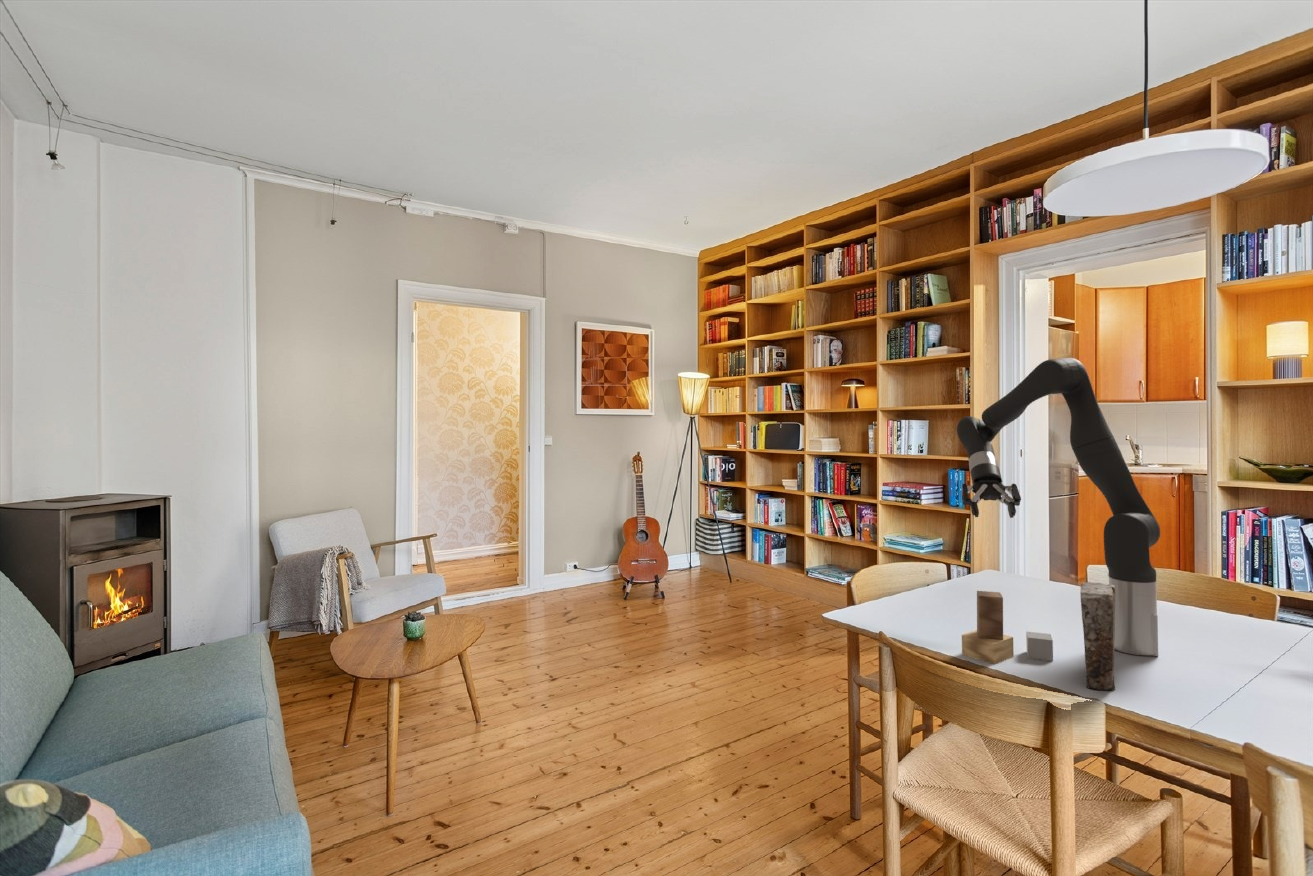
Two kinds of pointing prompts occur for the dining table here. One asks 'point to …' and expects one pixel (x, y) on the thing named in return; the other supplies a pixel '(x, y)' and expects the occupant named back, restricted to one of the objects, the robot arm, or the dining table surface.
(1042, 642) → the grey cube
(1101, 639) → the stone block
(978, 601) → the walnut pillar
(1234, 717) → the dining table surface
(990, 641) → the oak block
